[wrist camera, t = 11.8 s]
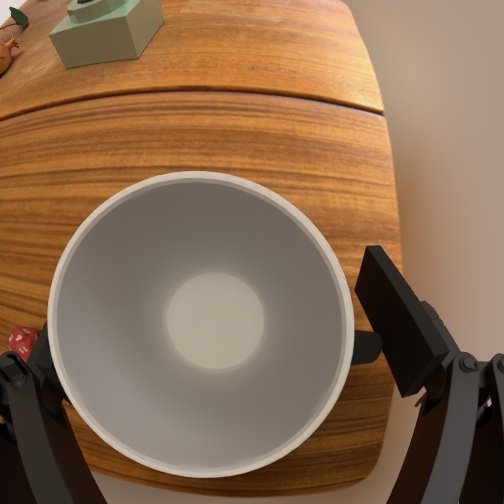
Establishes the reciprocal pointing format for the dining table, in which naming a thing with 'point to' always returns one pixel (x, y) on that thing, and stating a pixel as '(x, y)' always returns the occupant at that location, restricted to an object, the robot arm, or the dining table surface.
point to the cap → (84, 1)
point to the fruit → (6, 53)
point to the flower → (17, 17)
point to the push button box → (106, 30)
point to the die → (22, 341)
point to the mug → (202, 324)
